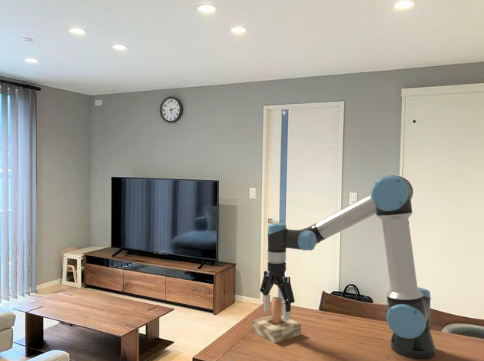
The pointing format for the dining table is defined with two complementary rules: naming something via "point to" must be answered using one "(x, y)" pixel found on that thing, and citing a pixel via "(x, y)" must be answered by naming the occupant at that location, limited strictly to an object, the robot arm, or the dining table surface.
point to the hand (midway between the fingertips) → (276, 314)
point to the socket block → (276, 329)
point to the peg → (276, 310)
